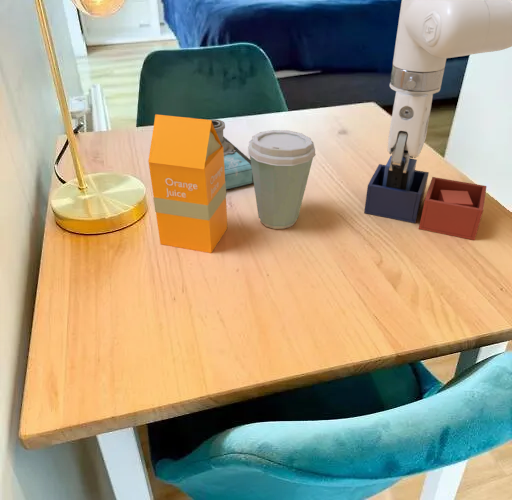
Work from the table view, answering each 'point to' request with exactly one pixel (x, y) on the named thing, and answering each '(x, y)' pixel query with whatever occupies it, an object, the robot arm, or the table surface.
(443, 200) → the red block
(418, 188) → the blue bin
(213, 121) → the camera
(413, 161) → the blue block
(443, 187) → the red bin
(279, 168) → the disposable coffee cup
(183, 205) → the orange juice
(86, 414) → the table surface
